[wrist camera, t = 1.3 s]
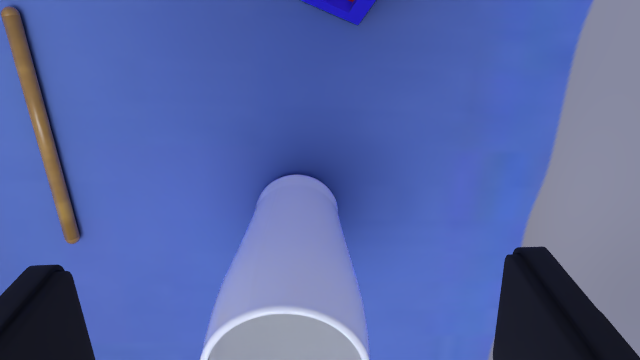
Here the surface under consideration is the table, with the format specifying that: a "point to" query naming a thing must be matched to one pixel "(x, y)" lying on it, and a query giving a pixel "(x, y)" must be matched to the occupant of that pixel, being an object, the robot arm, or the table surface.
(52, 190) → the wooden stick
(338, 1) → the toy building block
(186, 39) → the table surface
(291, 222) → the drinking glass
